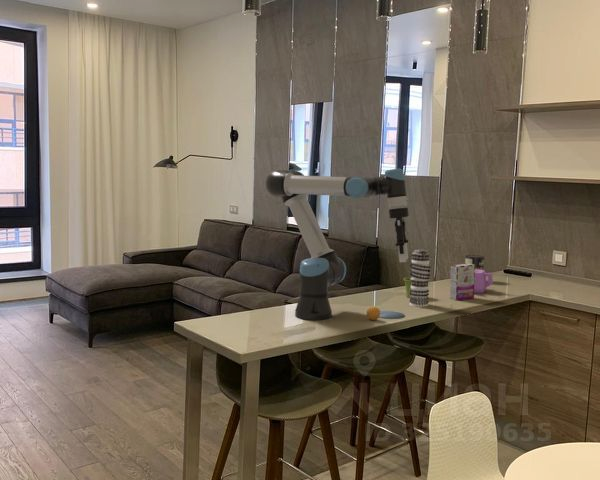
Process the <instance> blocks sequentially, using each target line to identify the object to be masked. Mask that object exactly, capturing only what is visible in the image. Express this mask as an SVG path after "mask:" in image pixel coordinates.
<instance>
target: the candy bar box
mask: <svg viewBox="0 0 600 480" xmlns="http://www.w3.org/2000/svg"><path fill="white" fill-rule="evenodd" d="M450 271H451V275H450V282H449V283H450V289H449V290H450V292H449V293H450V294H449V296H450V297H449V299H451V300H453V299H454V301H462V300H463V301H464V300H469V299H470V300H471V299H472V300H473V299H475V293H474V279H475V265H473V264H465V263H460V264H459V263H458V264H452V265H451V264H450Z"/></svg>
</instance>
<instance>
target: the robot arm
mask: <svg viewBox="0 0 600 480" xmlns="http://www.w3.org/2000/svg"><path fill="white" fill-rule="evenodd" d="M406 187H407V186H406V179H405V173H404V170H403V169H402V168H393V169H387V170H384V175H381V176H374V177H361V176H355V177H354V176H353V177H352V176H327V175H325V176H324V175H304V174H303V172H301V171H298V170H295V169H288V170H287V169H276V170H273V171H271V172H270V173H269V174H268V175H267V177H266V179H265V188H266V190H267V192H268V193H269V194H270V195H271V196H273V197H276V198H280V199H282V200H281V201H282V202H283V204H284V205H285V206H286V207H289V210H290V211H291V213H292V216H293V218H294V221H295V223H296V225H297V228H298V229H299V232H300V234H301V236H302V237H301V238H303V241H304V243H305V246H306V248H307V251H309V254H310V257H309V258H306V259H303V260H302V261H301V262H300V265H299V267H300V268H299V298H298V301H297V304H296V306H295V307H296V308H295V310H294V313H295V314H294V316H295V317H297V319H303V320H307V321H308V320H310V321H321V320H327V319H330V318H332V316H333V312H332V311H333V310H332V308H331V307H332V306H331V303H330V301H329V287H331V286H336V285H338V284H339V283H341V282H342V281H343V280H344V279H345V277H346V274H347V266H346V263H345V262H344V260H343V259H341V258H340V257H338V255H337V253H336V251H335V250H334V249H331V248H330V246H329V244H328V242H327V240H326V237H325V235H324V233H323V231H322V229H321V226H320V224H319V222H318V220H317V217H316V215H315V213H314V211H313V209H312V207H311V206H312V205H310V202H309V200H308V197H309V195H315V196H335V197H336V196H337V197H352V198H370V197H377V196H381V195H386V196H387V197H386V198H387V199H386V200H387V205H388V206H387V207H388V208H389V210H388V215H389V218H390V219H395V221H394V227H395V232H396V243H395V247H397V249H398V250H397V251H398V252H397V253H398V259H399V260H398V261H399V263H407V260H408V259H409V253H408V250H409V249H408V243H409V240H408V239H407V235H406V221H405V220H404V218H407V217H409V214H410V213H409V208H408V207H407V206H408V202H409V198H408V197H407V191H406V190H407V188H406Z"/></svg>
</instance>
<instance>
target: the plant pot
mask: <svg viewBox="0 0 600 480" xmlns="http://www.w3.org/2000/svg"><path fill="white" fill-rule="evenodd" d="M403 281H404V284H405V294H406V297H407V298H409V299H410V296H411V295H410V292H411V291H410V289H411V279H410V277H404V278H403Z"/></svg>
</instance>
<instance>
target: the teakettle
mask: <svg viewBox="0 0 600 480" xmlns="http://www.w3.org/2000/svg"><path fill="white" fill-rule="evenodd" d="M448 273H449V275H450V276H451V270H450V271H448ZM493 284H494V282H493V273H491V272H490V273H489V272H486V270H484V269H483V270H475V279H474V294H480V295H481V294H483V293H485V291H486V290H487V288H488V287H490V286H492V285H493Z"/></svg>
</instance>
